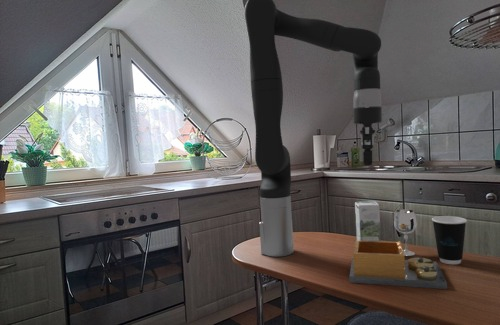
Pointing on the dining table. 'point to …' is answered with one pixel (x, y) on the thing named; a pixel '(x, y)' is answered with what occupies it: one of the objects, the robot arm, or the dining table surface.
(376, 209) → the syrup box
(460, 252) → the dixie cup
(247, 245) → the dining table surface
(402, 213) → the wineglass
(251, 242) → the dining table surface
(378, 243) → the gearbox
